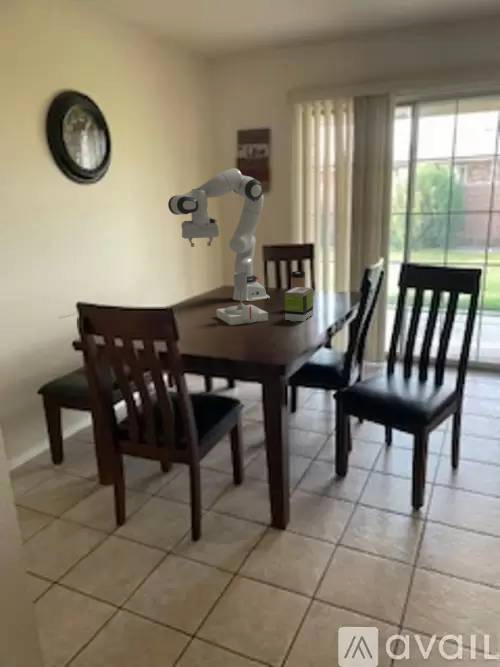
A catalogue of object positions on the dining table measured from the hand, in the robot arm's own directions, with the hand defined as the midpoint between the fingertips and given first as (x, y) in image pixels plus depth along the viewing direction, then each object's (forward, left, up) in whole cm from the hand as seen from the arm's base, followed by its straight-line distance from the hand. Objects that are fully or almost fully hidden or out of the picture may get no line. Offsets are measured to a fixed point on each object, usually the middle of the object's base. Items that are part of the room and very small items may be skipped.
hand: (200, 246), depth 272 cm
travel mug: (-45, +28, -34) cm, 63 cm away
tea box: (-35, +48, -35) cm, 69 cm away
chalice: (-9, +35, -29) cm, 46 cm away
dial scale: (-9, +35, -34) cm, 50 cm away
